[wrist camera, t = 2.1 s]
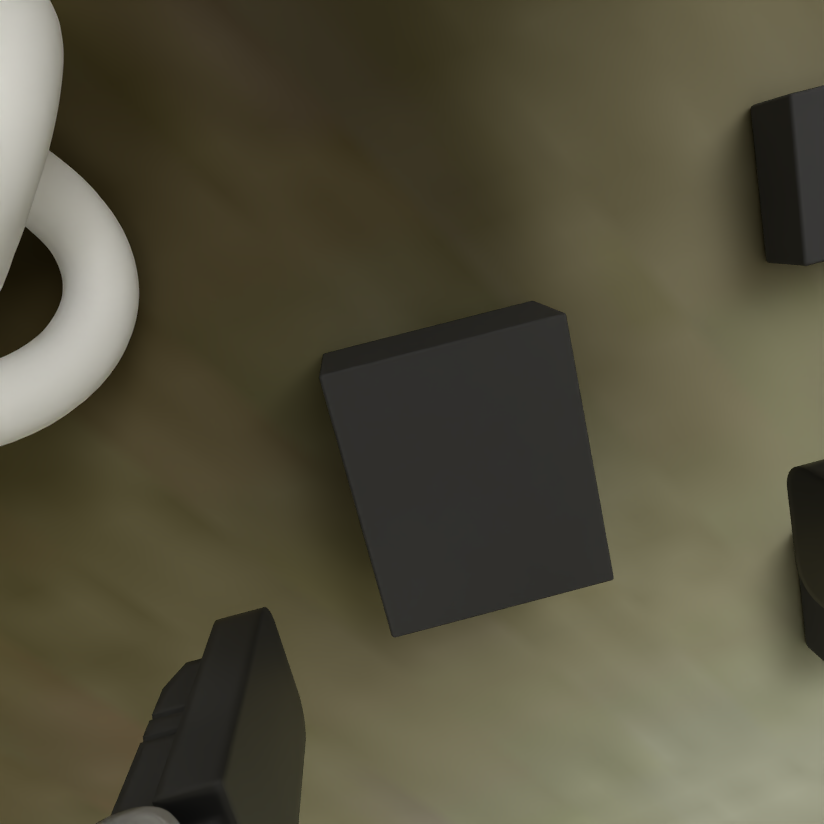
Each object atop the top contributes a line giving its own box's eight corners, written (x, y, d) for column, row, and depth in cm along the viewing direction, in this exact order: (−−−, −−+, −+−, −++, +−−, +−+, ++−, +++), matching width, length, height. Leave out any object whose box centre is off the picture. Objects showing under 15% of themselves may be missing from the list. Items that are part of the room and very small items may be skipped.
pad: (322, 354, 16) (318, 375, 14) (533, 300, 16) (566, 312, 14) (386, 583, 18) (392, 639, 15) (578, 533, 18) (614, 580, 16)
